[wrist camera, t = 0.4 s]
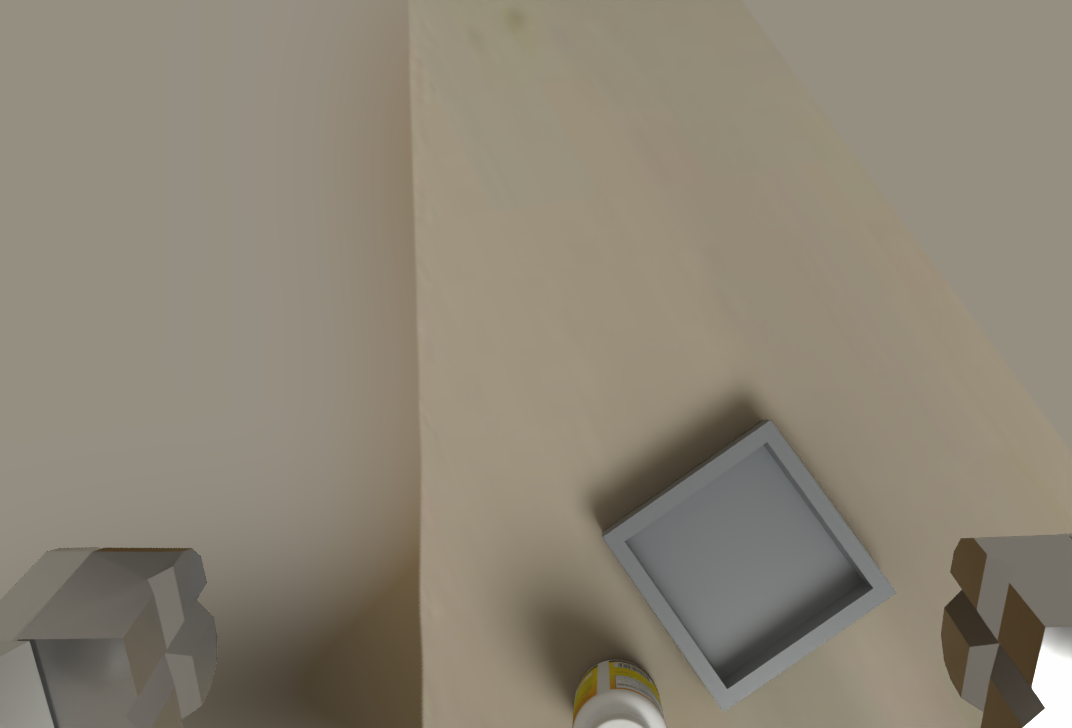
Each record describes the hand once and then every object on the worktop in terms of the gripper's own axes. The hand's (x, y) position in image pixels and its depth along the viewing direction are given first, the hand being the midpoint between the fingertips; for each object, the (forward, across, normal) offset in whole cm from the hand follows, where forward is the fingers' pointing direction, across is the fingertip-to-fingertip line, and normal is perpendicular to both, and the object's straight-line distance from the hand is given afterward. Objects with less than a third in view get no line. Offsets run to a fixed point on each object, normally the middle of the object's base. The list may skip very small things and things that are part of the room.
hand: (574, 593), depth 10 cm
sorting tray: (+42, +12, -28) cm, 52 cm away
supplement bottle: (+39, +3, -37) cm, 54 cm away
